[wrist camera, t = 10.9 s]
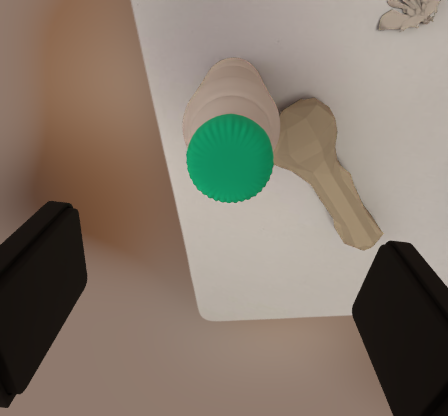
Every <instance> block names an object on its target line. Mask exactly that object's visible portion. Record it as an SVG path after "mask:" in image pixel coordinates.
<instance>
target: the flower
mask: <svg viewBox="0 0 448 416" xmlns="http://www.w3.org/2000/svg"><path fill="white" fill-rule="evenodd" d="M402 1H404V2H405V3H406V4H408V5H409V6H408V5H406V4H404V3H403V4H402V3H400V2H399V1H397V0H389V1H387V2H388V4H389V5H390V6H392V7H398V8H403V13H407V14H408V15H405V14H401V13H399V12H397V11H395V10H391V11H389V12H387V13H386V14H384V15H383V17H382V18H381V20H380V22H379V30H387V29H401V30H402V31H404V30H405V29H407V28H409V27H415V28H418V27H419V26H418V27H417V25H418V24H419V23H420V22H422V21H423V22H424V23H423V24H428V23H429V22H430V21H431V20H432V22H433V17H434V16H432V17H431V16H430V17H429V15H430V14H431V13H433V12H435V11H436V12H435V13H437V6H438V4H439V2H440V1H441V0H410V1H411V2H410V1H409V0H402ZM420 2H421V3H420ZM435 13H434V15H435ZM399 32H401V31H399Z"/></svg>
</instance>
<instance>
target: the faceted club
mask: <svg viewBox="0 0 448 416" xmlns="http://www.w3.org/2000/svg"><path fill="white" fill-rule="evenodd" d="M279 116H280V136H279V140H278V143H277V145H276V148H275V150H274V152H273V155H274V159H273V161H274V165H276V166H279V167H282V168H284V169H287V170H290V171H292V172H294V173H295V174H297V175H298V176H299V177H301V178H302V179H304V180H305V181H306V182H308V183H309V184H311V186H312V187H313V189H314V190H315V192H316V193H317V195H318V196H319V199H320V200H321V201H322V203H323V204H324V205H325V207H326V209H327V210H328V212H329V213H330V215H331V216H332V218H333V219H334V227H335V229H336V231H337V232H338V234H339V235H340V237H341V239H342V240H343V242H344V243H345V244H347V245H350V246H353V247H355V248H358V249H360V250H366V249H369V248H371V247H373V246H374V245H375V243H376V242H377V241H378V240H379V239H380V237H381V236H382V235H383V234H384V233H383V232H382V231H381V230H380V228H379V227H378V225H377V223H376V222H375V220H374V219H373V218H372V216H371V215H370V214H369V212H368V211H367V210H366V208H365V207H364V206H363V204H362V202H361V199H360V197H359V195H358V193H357V191H356V189H355V186H354V184H353V181H352V177H351V174H350V173H349V172H348V171H346V170H345V169H344V168H343V167H341V165H340V163H339V161H338V160H337V156H336V150H335V144H336V137H337V127H336V121H335V117H334V115H333V113H332V111H331V110H330V108H329V107H328V106H327V105H325V104H324V103H322V102H320V101H319V100H317V99H316V98H310V99H306V100H303V99H300V100H299V101H297V102H295V103H294V104H292V105H291V106H289V107H287V108H286V109H284V110H283V111H282V113H281V114H280V115H279Z"/></svg>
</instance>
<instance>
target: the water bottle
mask: <svg viewBox="0 0 448 416" xmlns="http://www.w3.org/2000/svg"><path fill="white" fill-rule="evenodd" d="M183 135H184V140H185V143H186V146H187V148H188V150H187V154H186V156H187V165H188V168H187V169H188V172H189V175H190V178H191V179H192V181H193V184H194V185H196V187H197V189H198V190H199V191H201V192H202V193H203V194H204V195H207V196H208V198H213V199H214V200H215V201H218V200H219V201H220V202H227V203H231V202H234V203H237V202H238V201H241V202H242V201H244V200H245V199H246V200H249V199H250V198H251V197H254V196H256V195H257V193H259V192H261V191H262V188H263V187H265V186H266V183H267V181H269V179H270V175H271V174H272V168H273V165H274V161H273V159H274V155H273V152H274V150H275V148H276V145H277V143H278V140H279V136H280V116H279V112H278V109H277V106H276V104H275V102H274V100H273V99H272V97H271V96H270V94H269V92H268V90H267V88H266V86H265V85H264V83H263V81H262V79H261V77H260V75H259V73H258V71H257V70H256V68H255V67H254V66H253V65H252V64H250V63H249V62H247V61H245V60H243V59H240V58H227V59H223V60H221V61H219V62H218V63H216V64H215V65H214V66H213V67H212V68H211V69H210V70H209V72H208V73H207V75H206V77H205V78H204V80H203V82H202V83H201V84H200V86H199V87H198V89H197V91H196V93H195V94H194V95H193V96H192V98H191V99H190V101H189V103H188V105H187V107H186V110H185V113H184V118H183Z"/></svg>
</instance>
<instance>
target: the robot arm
mask: <svg viewBox="0 0 448 416" xmlns="http://www.w3.org/2000/svg"><path fill="white" fill-rule="evenodd" d="M86 283H87V271H86V263H85V256H84V248H83V241H82V234H81V226H80V219H79V213H78V210H77V209H74V208H73V206H72V205H71V204H70V203H63V202H56V201H55V202H54V201H49V202H47V203H46V204H45V205H44V206H43V207H41V208H40V209H39V210H38V211H37V212H36V213H35V214H34V215H33V216H32V217H31V218H30V219H28V220H27V221H26V222H25V223H24V224H23V225H22V226H21V227H20V228H18V229H17V230H16V231H15V232H14V233H13V234H12V235H11V236H10V237H9V238H7V239H6V240H5V241H4V242H3V243H2V244H1V245H0V407H4V408H8V407H9V406H10V404H11V402H12V401H13V399H14V397H15V396H16V394H21V393H23V391H24V390H25V389H26V388H27V386H28V384H29V383H30V381H31V379H32V377H33V376H34V374H35V372H36V371H37V369H38V367H39V365H40V364H41V362H42V360H43V358H44V357H45V355H46V353H47V352H48V350H49V348H50V347H51V345H52V343H53V341H54V340H55V338H56V336H57V334H58V333H59V331H60V329H61V328H62V326H63V324H64V323H65V321H66V319H67V317H68V316H69V314H70V312H71V311H72V309H73V307H74V305H75V304H76V302H77V300H78V299H79V297H80V295H81V293H82V292H83V290H84V288H85V286H86ZM352 315H353V318H354V321H355V323H356V326H357V328H358V331H359V333H360V335H361V337H362V340H363V343H364V345H365V348H366V350H367V352H368V355H369V357H370V360H371V362H372V365H373V367H374V370H375V372H376V374H377V377H378V379H379V382H380V384H381V387H382V389H383V391H384V394H385V396H386V399H387V401H388V404H389V406H390V409H391V411H392V413H393V416H448V288H447V286H446V285H445V284H444V283H443V281H442V280H441V279H440V278H439V277H438V275H437V274H436V273H435V272H434V271H433V269H432V268H431V267H430V266H429V264H428V263H427V262H426V261H425V260H424V258H423V257H422V256H421V255H420V254H419V252H418V251H417V250H416V249H415V248H414V246H413V245H412V244H411V243H407V242H398V241H388V242H387V243H386V244H385V245H381V246H380V248H379V250H378V252H377V254H376V256H375V258H374V261H373V263H372V265H371V267H370V269H369V271H368V274H367V276H366V278H365V280H364V282H363V284H362V287H361V289H360V291H359V293H358V295H357V298H356V300H355V302H354V304H353V307H352Z"/></svg>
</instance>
